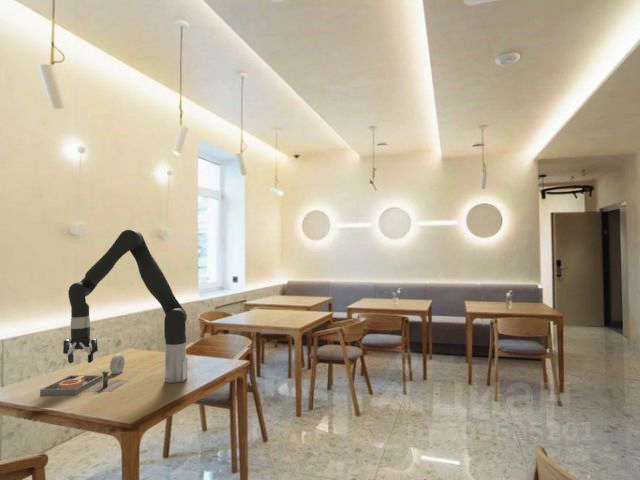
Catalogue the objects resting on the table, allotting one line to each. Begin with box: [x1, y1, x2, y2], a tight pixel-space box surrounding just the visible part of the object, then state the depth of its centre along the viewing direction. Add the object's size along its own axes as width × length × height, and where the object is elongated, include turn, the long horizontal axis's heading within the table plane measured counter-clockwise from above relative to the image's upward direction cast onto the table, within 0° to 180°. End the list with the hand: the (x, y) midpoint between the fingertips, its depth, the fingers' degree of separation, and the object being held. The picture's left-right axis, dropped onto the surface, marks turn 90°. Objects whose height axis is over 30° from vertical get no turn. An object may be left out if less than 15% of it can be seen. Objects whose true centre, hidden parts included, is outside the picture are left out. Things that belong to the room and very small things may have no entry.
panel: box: [83, 370, 130, 393], centre depth 180 cm, size 12×16×8 cm
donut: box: [109, 353, 126, 375], centre depth 200 cm, size 10×4×10 cm, turn 177°
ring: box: [57, 376, 86, 389], centre depth 179 cm, size 8×13×3 cm, turn 0°
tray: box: [39, 374, 103, 398], centre depth 178 cm, size 15×20×3 cm
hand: (80, 362), depth 184 cm, fingers open, 8 cm apart
